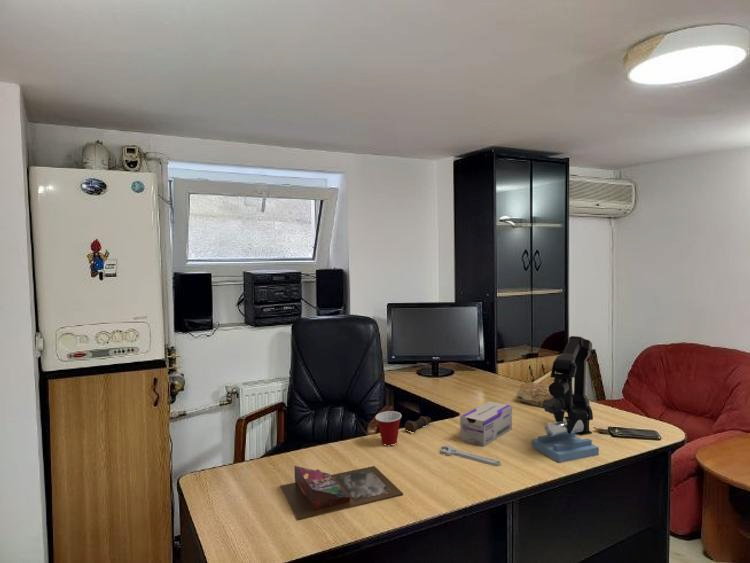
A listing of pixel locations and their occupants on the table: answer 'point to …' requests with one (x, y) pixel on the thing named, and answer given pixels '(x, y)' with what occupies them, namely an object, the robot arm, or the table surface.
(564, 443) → the cradle
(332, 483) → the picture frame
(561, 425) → the axle
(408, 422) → the bolt
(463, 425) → the surgical sutures box
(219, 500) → the table surface
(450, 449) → the adjustable wrench
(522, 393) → the petrified wood
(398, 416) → the plastic cup
